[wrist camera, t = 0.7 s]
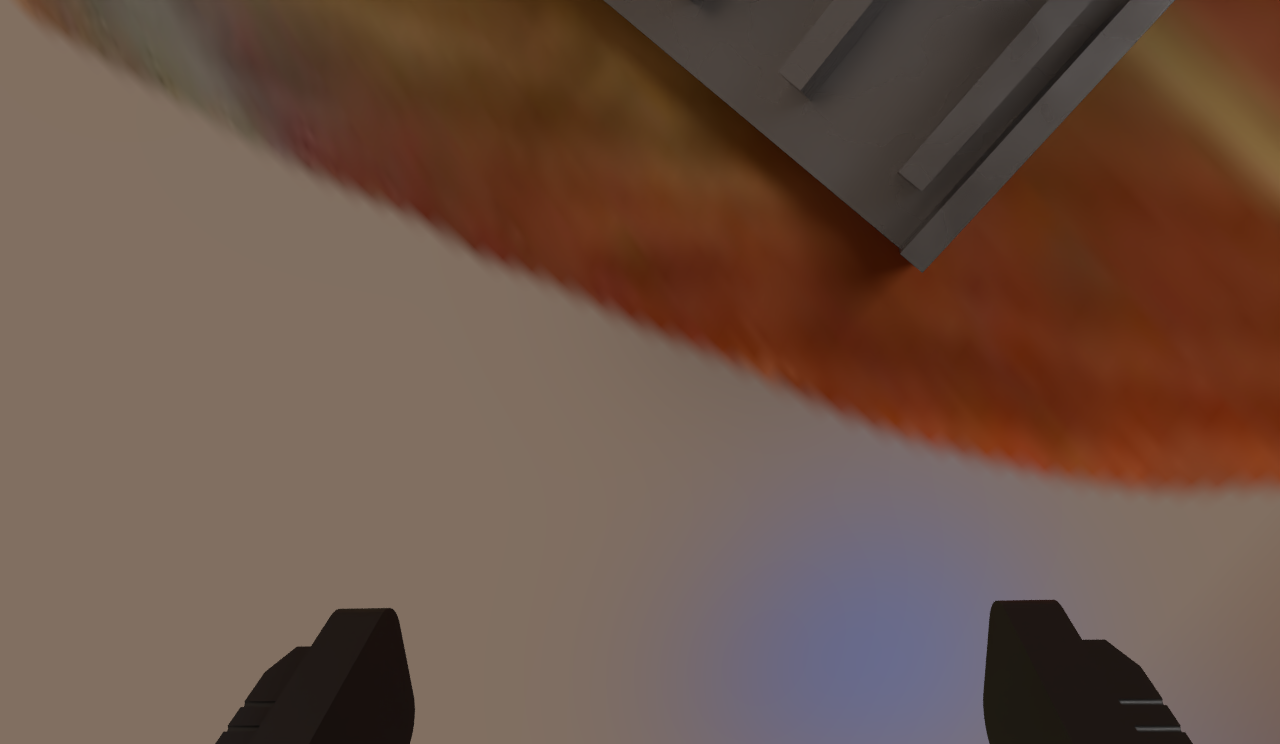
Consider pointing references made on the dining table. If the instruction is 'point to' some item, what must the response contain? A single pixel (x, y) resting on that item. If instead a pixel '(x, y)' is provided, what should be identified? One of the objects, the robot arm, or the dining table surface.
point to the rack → (901, 90)
